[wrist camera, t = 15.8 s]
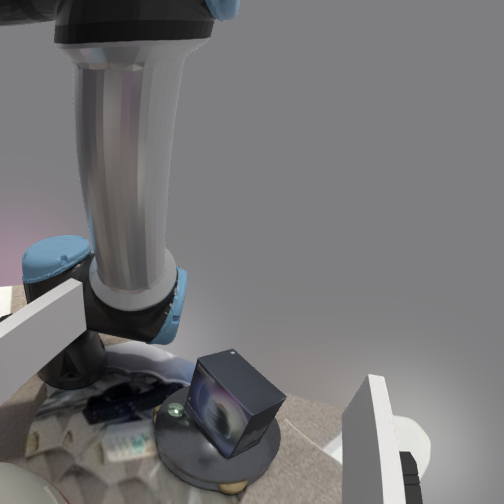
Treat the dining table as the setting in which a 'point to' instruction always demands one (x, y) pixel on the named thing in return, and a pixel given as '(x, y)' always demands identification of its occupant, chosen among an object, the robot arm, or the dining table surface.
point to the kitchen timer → (26, 487)
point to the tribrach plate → (207, 450)
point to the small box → (231, 402)
